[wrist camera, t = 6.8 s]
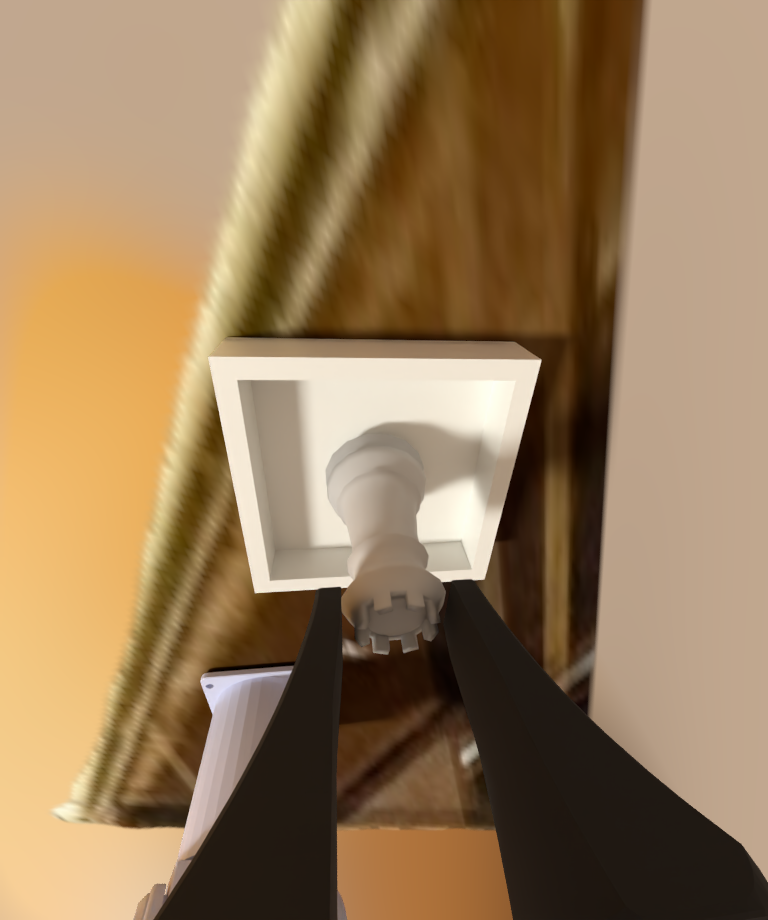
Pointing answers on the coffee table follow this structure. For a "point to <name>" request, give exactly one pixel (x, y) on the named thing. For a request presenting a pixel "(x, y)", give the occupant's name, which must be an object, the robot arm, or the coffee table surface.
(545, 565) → the coffee table surface
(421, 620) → the rook chess piece
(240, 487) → the tray
